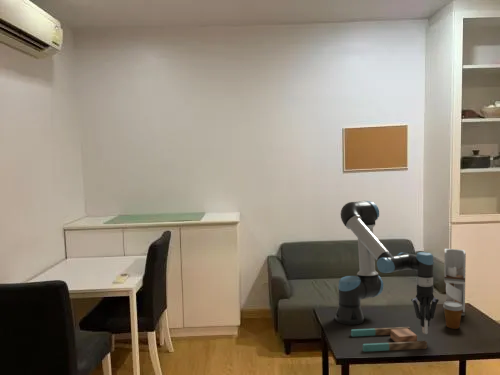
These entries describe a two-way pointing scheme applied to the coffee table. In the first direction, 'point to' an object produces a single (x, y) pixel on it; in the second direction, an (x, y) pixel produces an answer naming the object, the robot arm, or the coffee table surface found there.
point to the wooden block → (403, 335)
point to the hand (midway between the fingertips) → (424, 332)
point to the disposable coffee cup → (452, 314)
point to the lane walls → (401, 344)
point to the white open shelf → (455, 276)
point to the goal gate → (373, 345)
